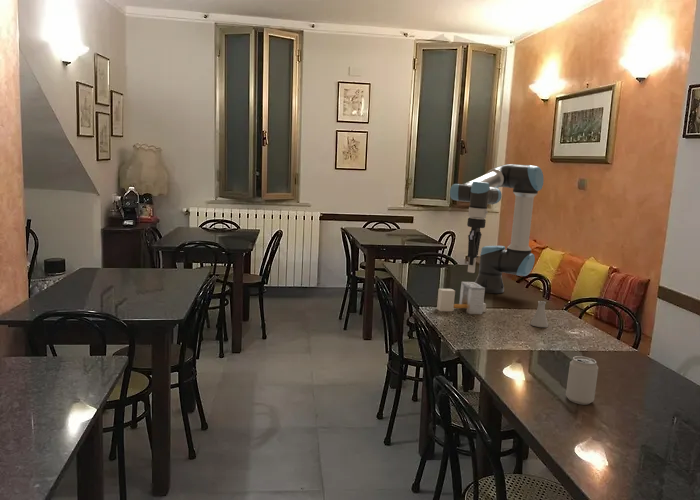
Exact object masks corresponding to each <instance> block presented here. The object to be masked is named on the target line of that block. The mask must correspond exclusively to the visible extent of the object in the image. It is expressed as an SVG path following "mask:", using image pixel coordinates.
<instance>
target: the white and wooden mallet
mask: <svg viewBox="0 0 700 500" xmlns="http://www.w3.org/2000/svg"><path fill="white" fill-rule="evenodd" d="M437 291H438V293H437V304H436V309H437V310H438V311H439V312H454V309H461V308H467V304H459V303H455V295H456V290H454V289H452V288H438V290H437ZM486 310H487V303H485V302H484V303H483V312H482V313H486Z"/></svg>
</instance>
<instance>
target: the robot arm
mask: <svg viewBox="0 0 700 500" xmlns="http://www.w3.org/2000/svg"><path fill="white" fill-rule="evenodd" d="M544 181H545V180H544V173H543V170H542V168H541V167H540V166H537V165H533V164H532V165H531V164H515V163H510V164H509V163H508V164H503V165H499V166H496V167H493V168H491V169H489V170H488V171H486V173H485V174H483V175H480V176H479V177H476V178H474V179H472V180H469V181H467V182H465V183H462V184H461V183H453V184H452V185H451V187H450V190H449V197H450V199H451V200H453V201H457V202H466V203H469V206H468V215H467V216H468V218H467V222H466V223H467V224H466V225H467V228H468V227H469V228H471V229H470V231H469V234H468V235H467V238H468V242H467V243H468V244H467V245H468V247H467V256H466V257H467V258H468V263H467V264H468V265H467V273H470V274H474V273H475V272H476V264H477V263H476V262H477V261H476V260H477V258H479V257H480V258H479V267H478V268H479V269H478V275H477V277H476V279H475V281H474V282H475V283H477V284H479V285H480V286H482V287H484V288H485V294H486V293H487V294H488V293H489V294H503V293H504V291H505V286H504V281H503V274H504V273H505V274H511V275H514V276H515V275H516V276H519V277H526V276H528V275H530V273H531V272H532V270H533V268H534V265H535V261H536V259H535V254H533V253H532V248H531V247H530V237H531V236H530V234H531V228H532V227H531V226H532V218H533V209H534V198H535V197H536V196H538V192H539V191H541V190H542V189H543V187H544ZM499 188H508V189H512V193H513V194H514V195H515V196H514V197H515V198H514V199H515V200H514V206H513V207H514V209H513V219H512V227H511V228H512V229H511V237H510V244H509V245H508V246H507V247H506V246H505V245H485V246H483V247H481V251H480V250H479V249H480V244H481V239H482V236H483V235H482V233H481V229H485V227H486V218H487V214H488V213H489V211H488V205H496V204H498V203H499V202H500V201H501V200H502V194H503V193H502V192H501V190H500V189H499ZM479 251H480V256H479Z"/></svg>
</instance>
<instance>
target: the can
mask: <svg viewBox="0 0 700 500" xmlns="http://www.w3.org/2000/svg"><path fill="white" fill-rule="evenodd" d="M597 363H598V362H597V361H596V360H595V359H594V358H591V357H587V356H581V355H578V356H577V355H576V356H573V357H572V360H571V361H569V368H568V375H567V382H566V383H567V384H566V389H565V396H566V397H567V399H568V401H570V402H572V403H573V404H574V403H575V404H578V405H590V404H591V403H593V402H594V401H595V397H596V396H595V395H596V388H597V381H598V380H597V379H598V373H599V366H598V364H597Z"/></svg>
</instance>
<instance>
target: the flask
mask: <svg viewBox="0 0 700 500" xmlns="http://www.w3.org/2000/svg"><path fill="white" fill-rule="evenodd" d="M537 303H538V304H537V308H536V311H535V313H534V315H533V317H532V319H531V321H530V323H529V325H531V326H532V327H536V328H537V327H538V328H548V327H549V323H548V319H547V315H546V304H547V301H542V300H537Z"/></svg>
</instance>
